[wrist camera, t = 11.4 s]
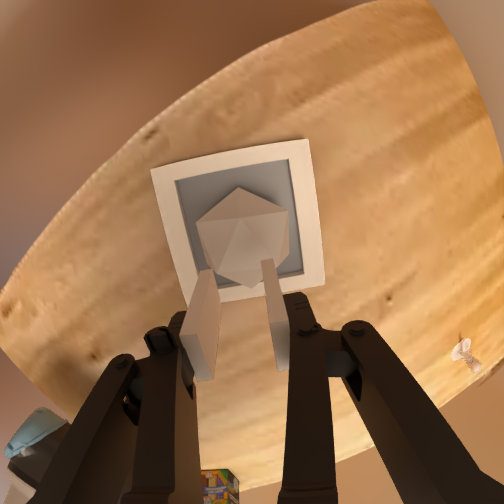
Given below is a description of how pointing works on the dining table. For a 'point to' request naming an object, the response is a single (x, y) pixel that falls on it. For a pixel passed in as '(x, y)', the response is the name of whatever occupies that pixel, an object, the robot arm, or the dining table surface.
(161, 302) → the dining table surface
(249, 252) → the die
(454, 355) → the toy figurine
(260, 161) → the pocket plate
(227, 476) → the chalk box
